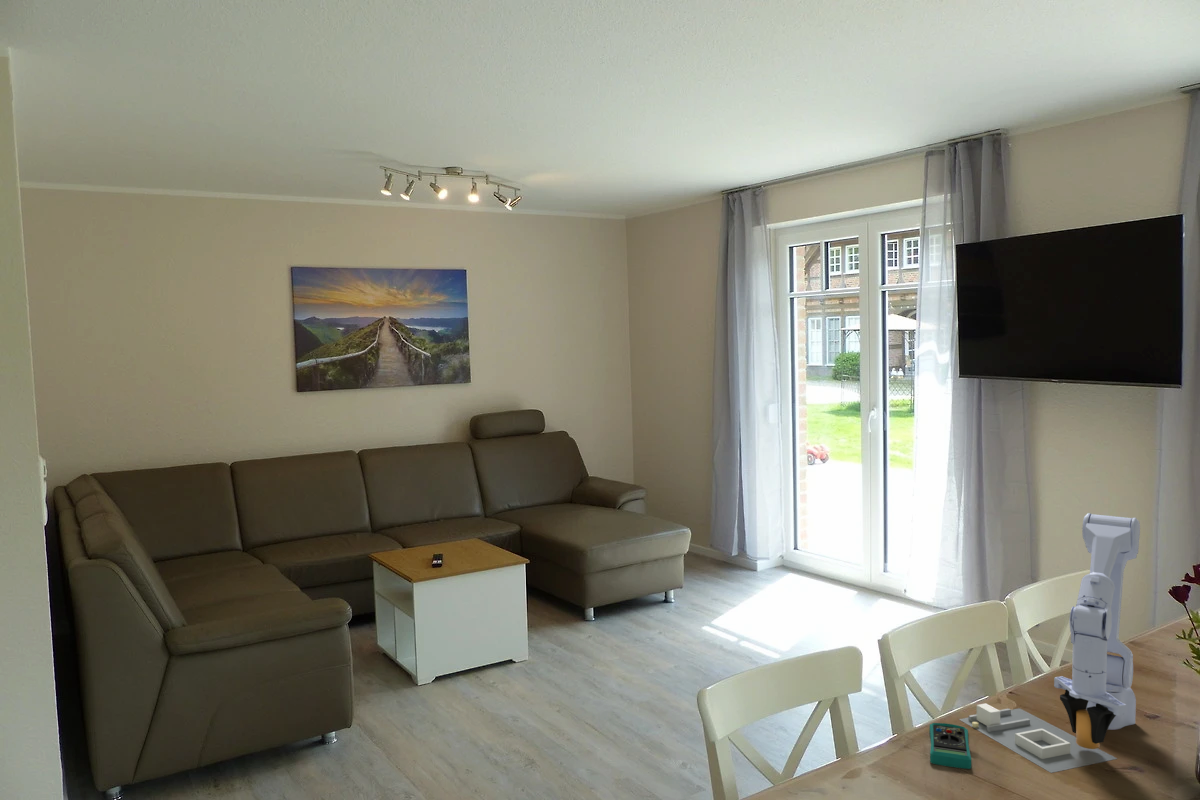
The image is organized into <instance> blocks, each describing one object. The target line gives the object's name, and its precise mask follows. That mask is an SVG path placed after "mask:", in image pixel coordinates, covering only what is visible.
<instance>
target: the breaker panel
mask: <svg viewBox="0 0 1200 800" xmlns="http://www.w3.org/2000/svg"><path fill="white" fill-rule="evenodd" d="M998 710H999V711H1000V724H995V725H990V726H986V725H985V724H983V723H981V722H979V721H978V720H976V715H977V713H976V714H970V715H968V717H964V718H959V719H958V720H959V721H961V722H963V723H964V724H965V725H967V726H969V727H971V728H973V729H974V730H976V731H977V732H979V733H981V734H983V735H985V736H986V737H988V738H990V739H991V740H993V741H995V742H996V743H999V744H1000V745H1001V746H1003V747H1006V748H1007V749H1009V750H1011V751H1012V752H1014V753H1015V754H1017V755H1019V756H1021V757H1023V758H1024V759H1026V760H1028V761H1030V762H1031V763H1033V764H1035V765H1037V766H1038V767H1040V768H1042V769H1044V770H1045V771H1047V772H1049V773H1050V774H1053V773H1057V772H1062V771H1063V772H1064V771H1067V770H1072V769H1076V768H1082V767H1086V766H1090V765H1091V766H1092V765H1094V764H1100V763H1105V762H1110V761H1113V760H1114V761H1115V760H1118V758H1117V757H1115V756H1114V755H1112V754H1109V753H1108V752H1106V751H1104V750H1102V749H1099V748H1097V749H1088V748H1084V747H1081V746H1079V745H1078V744H1077V743H1076V735H1073V734H1071V733H1069V732H1066V731H1065V730H1063V729H1061V728H1059V727H1057V726H1055V725H1053V724H1051V723H1049V722H1047V721H1046V720H1044V719H1041V718H1039V717H1037V716H1036V715H1034V714H1031V713H1030V712H1028V711H1026V710H1025V709H1022V708H1020V707H1019V708H1013V709H1012V708H1011V709H1010V708H1002V709H998Z"/></svg>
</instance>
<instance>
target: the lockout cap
mask: <svg viewBox="0 0 1200 800" xmlns="http://www.w3.org/2000/svg"><path fill="white" fill-rule="evenodd" d="M1075 737H1076V743H1077V744H1078V745H1079V746H1081V747H1084V748H1088V749H1097V748H1098V749H1099V748H1100V745H1101V744H1100V743H1097V744H1095V743H1093V742H1092V737H1091V721H1090V717H1089V714H1088V711H1087V710H1085V709H1081V710H1077V711H1076V733H1075Z"/></svg>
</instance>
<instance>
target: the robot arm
mask: <svg viewBox="0 0 1200 800" xmlns="http://www.w3.org/2000/svg"><path fill="white" fill-rule="evenodd" d="M1140 527H1141V525H1140V520H1139V519H1138V518H1137V517H1123V516H1114V515H1103V514H1095V513H1090V512H1087V513H1086V514H1085V515H1084V517H1083V519H1082V527H1081V529H1082V538H1083V541H1084V546H1085V548H1086V550H1087V553H1089V554H1091V555H1090V566H1089V573H1087V574H1085V575H1084V576H1083V577H1082V578H1081V581H1080V587H1079V591H1078V595H1077V600H1076V604H1075V606H1074V605H1073V606H1071V609H1070V612H1069V622H1068V623H1069V632H1070V643H1071V644H1072V666H1071V670H1072V671H1071V674H1072V675H1071V678H1072V679H1071V678H1068V677H1065V676H1063V675H1061V676H1055V677H1054V679H1053V683H1054V684H1053V686H1054V688H1056V689H1062V690H1064V691H1065V692H1064V693H1062V694H1060V695H1059V700H1060V701H1061V703H1062V704H1063V707H1064V708H1065V711H1066V712H1067V716H1068V720H1069V723H1070V727H1071V730H1072V733H1073V734H1076V711H1077V710H1081V709H1085V710H1087V711H1088V714H1089V717H1090V721H1091V737H1092V742H1093V743H1095V744H1097V743H1101V744H1103V743H1104V742H1105V738H1106V735H1107V733H1108V730H1120V729H1122V728H1124V727H1127V726H1131V725H1135V724H1136V714H1137V713H1136V710H1137V709H1136V708H1137V699H1136V694H1135V693H1134V691H1133V689H1132V688H1131V687H1132V684H1133V680H1134V679H1133V678H1134V654H1133V652H1132V650H1131V649H1130V648H1129V647H1128V646H1127V645H1126V644H1124V642H1122V641H1121V640H1120V639H1119V637H1120V636H1119V635H1120V623H1121V611H1122V610H1121V609H1122V600H1123V599H1122V598H1123V586H1124V585H1123V584H1124V572H1125V568H1126V566H1127V562H1128V561H1131V560H1134V559H1137V556H1138V554H1139V547H1140V546H1139V545H1140V537H1141V536H1140V535H1141V528H1140ZM1108 653H1112V654H1108ZM1114 654H1117V655H1114ZM1118 655H1120V656H1118Z"/></svg>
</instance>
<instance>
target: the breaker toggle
mask: <svg viewBox="0 0 1200 800" xmlns="http://www.w3.org/2000/svg"><path fill="white" fill-rule="evenodd" d="M999 710H1000V709H997V708H995V707H993V706H992V705H990V704H988V703H987V702H986V703H980V704H976V714H977V715H976V720H978V721H979V722H981V723H983V724H985V725H986V726H990V725H995V724H1000V711H999Z"/></svg>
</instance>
